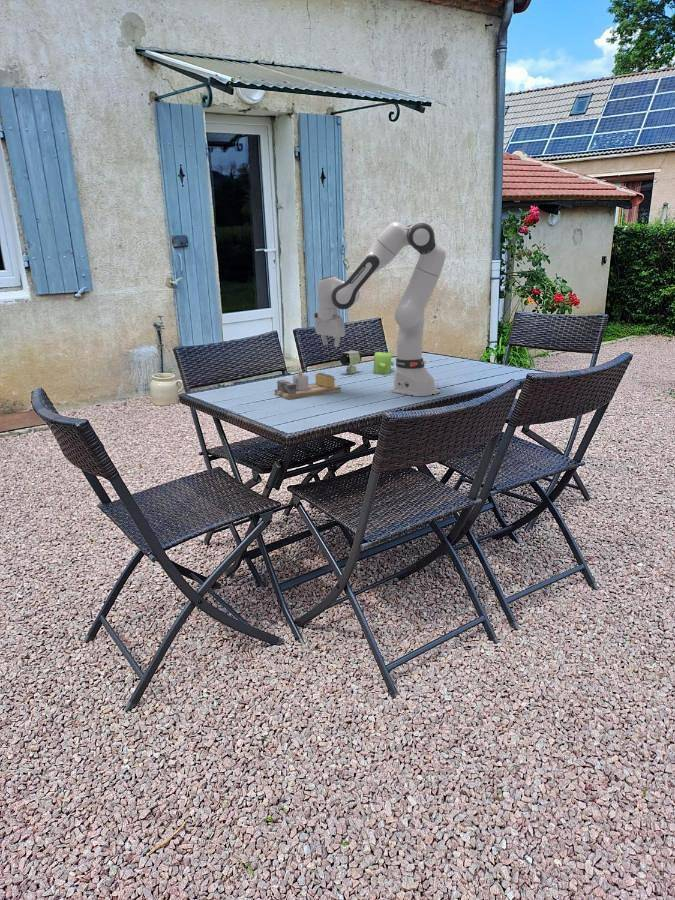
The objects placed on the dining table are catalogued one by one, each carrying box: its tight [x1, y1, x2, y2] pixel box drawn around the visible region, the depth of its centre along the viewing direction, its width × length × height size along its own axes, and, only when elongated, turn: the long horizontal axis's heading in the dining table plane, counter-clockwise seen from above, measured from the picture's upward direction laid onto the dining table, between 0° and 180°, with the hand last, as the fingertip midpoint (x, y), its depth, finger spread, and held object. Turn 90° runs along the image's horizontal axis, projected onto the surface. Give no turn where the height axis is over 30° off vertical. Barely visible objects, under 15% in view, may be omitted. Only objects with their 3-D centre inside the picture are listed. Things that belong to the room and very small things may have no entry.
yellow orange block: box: [315, 372, 335, 387], centre depth 302 cm, size 10×4×5 cm, turn 31°
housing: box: [292, 370, 309, 391], centre depth 295 cm, size 5×5×8 cm
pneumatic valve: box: [339, 349, 363, 375], centre depth 338 cm, size 6×12×12 cm, turn 136°
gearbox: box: [373, 351, 395, 375], centre depth 339 cm, size 18×10×10 cm, turn 173°
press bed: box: [274, 379, 342, 401], centre depth 298 cm, size 14×26×6 cm, turn 121°
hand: (331, 345), depth 299 cm, fingers open, 8 cm apart
